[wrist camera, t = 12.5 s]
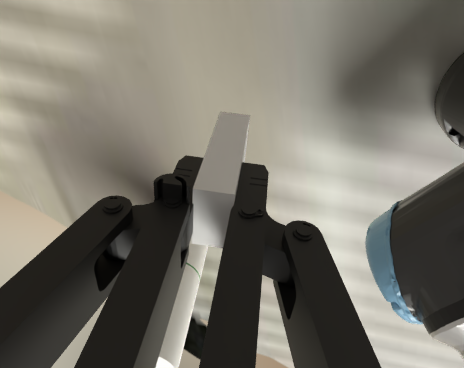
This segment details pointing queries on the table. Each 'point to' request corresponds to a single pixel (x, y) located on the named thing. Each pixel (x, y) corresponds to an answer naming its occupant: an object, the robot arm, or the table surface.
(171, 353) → the cylindrical container
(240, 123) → the robot arm
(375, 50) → the table surface
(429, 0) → the table surface
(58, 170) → the table surface
